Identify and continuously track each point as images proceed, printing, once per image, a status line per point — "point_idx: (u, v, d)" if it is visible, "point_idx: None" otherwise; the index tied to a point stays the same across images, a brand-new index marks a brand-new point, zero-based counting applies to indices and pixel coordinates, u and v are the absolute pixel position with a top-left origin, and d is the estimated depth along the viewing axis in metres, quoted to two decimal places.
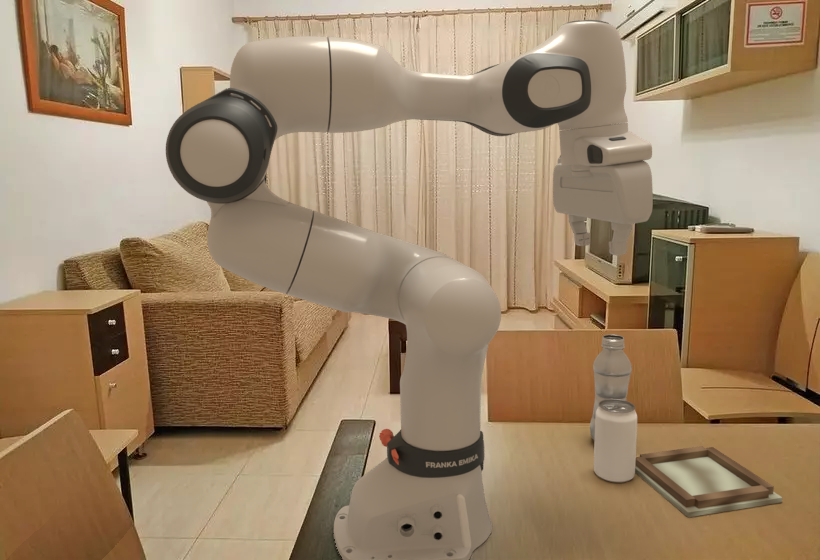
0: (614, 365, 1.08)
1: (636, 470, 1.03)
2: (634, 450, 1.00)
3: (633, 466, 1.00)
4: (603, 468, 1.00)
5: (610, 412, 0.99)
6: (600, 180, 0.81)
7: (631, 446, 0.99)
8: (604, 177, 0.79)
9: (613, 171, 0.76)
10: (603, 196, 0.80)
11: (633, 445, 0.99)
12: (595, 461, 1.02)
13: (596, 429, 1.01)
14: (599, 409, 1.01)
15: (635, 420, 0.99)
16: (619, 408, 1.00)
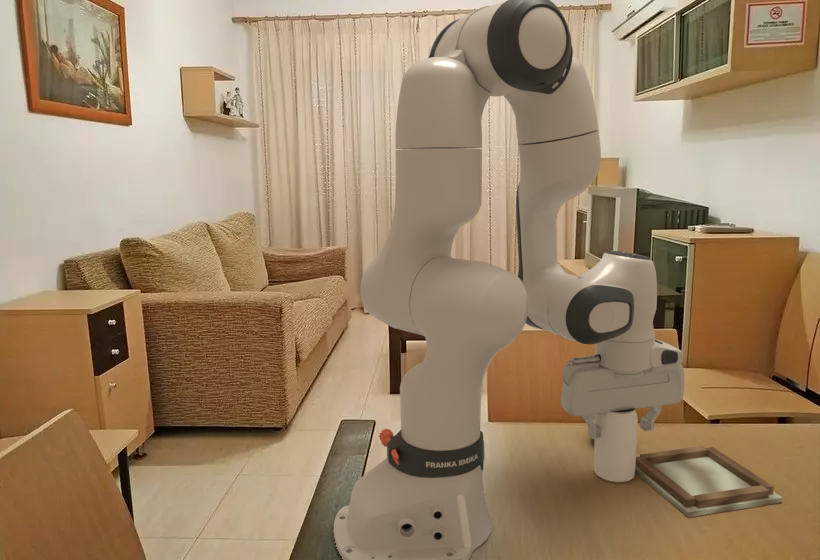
0: None
1: (636, 470, 1.03)
2: (634, 451, 1.00)
3: (633, 466, 1.00)
4: (603, 468, 1.00)
5: (610, 412, 0.99)
6: (650, 375, 0.99)
7: (631, 446, 0.99)
8: (661, 372, 0.99)
9: (681, 366, 0.99)
10: (655, 388, 0.99)
11: (634, 445, 0.99)
12: (595, 461, 1.02)
13: None
14: None
15: (635, 420, 0.99)
16: None
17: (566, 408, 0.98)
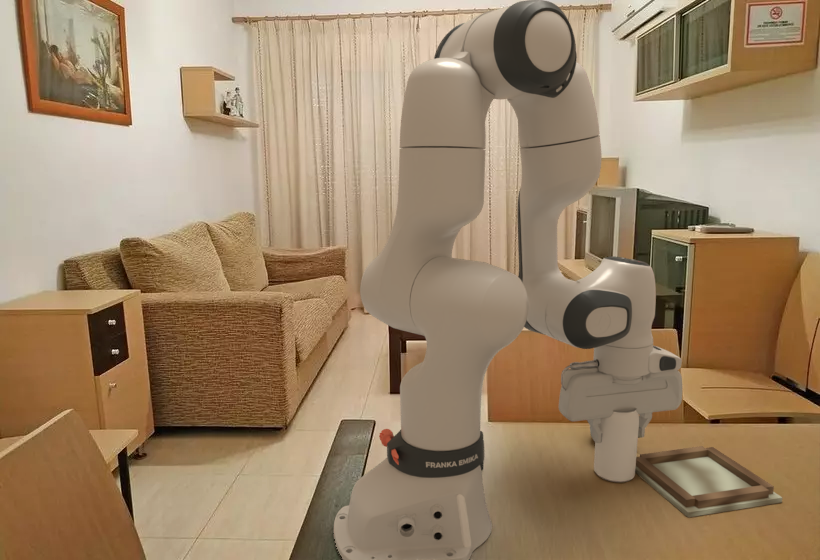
0: None
1: (636, 470, 1.03)
2: (635, 450, 1.00)
3: (633, 466, 1.00)
4: (603, 468, 1.00)
5: None
6: (649, 381, 0.99)
7: (632, 446, 0.99)
8: (659, 378, 0.99)
9: (679, 373, 0.99)
10: (653, 394, 0.99)
11: (634, 445, 0.99)
12: (596, 460, 1.02)
13: None
14: None
15: (637, 420, 0.99)
16: None
17: (564, 413, 0.98)
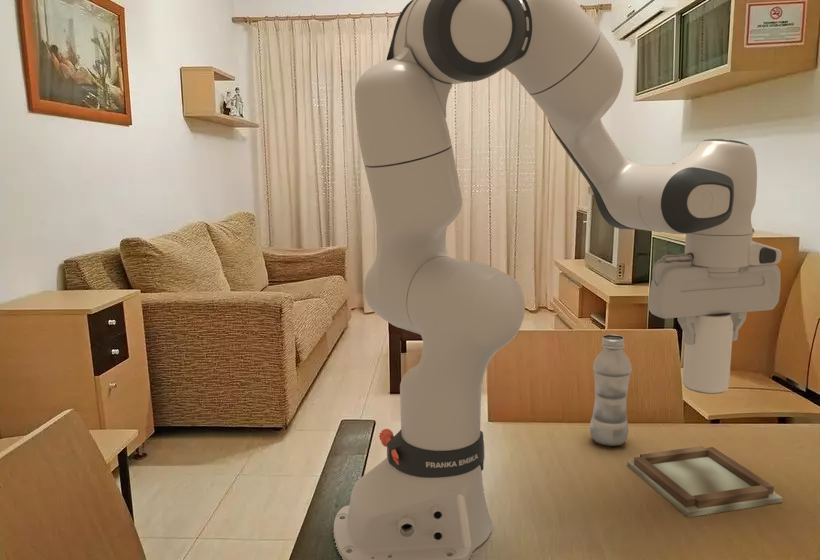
0: (614, 365, 1.08)
1: (636, 470, 1.03)
2: (730, 359, 0.93)
3: (729, 376, 0.94)
4: (698, 379, 0.94)
5: (706, 317, 0.92)
6: (745, 277, 0.92)
7: (728, 353, 0.92)
8: (757, 274, 0.92)
9: (778, 268, 0.92)
10: (750, 291, 0.93)
11: (730, 352, 0.93)
12: (687, 373, 0.95)
13: None
14: None
15: (732, 325, 0.92)
16: None
17: (655, 310, 0.91)
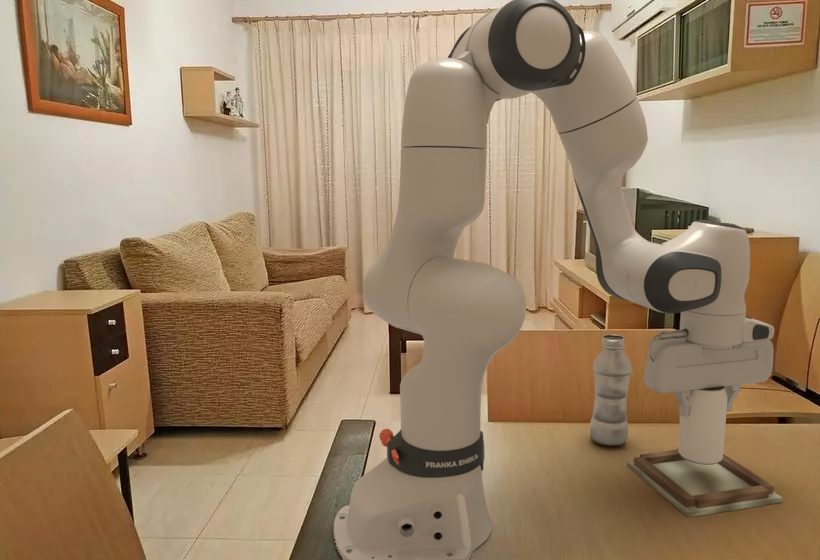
0: (614, 365, 1.08)
1: (636, 470, 1.03)
2: (724, 430, 0.96)
3: (723, 447, 0.96)
4: (693, 450, 0.96)
5: (701, 391, 0.94)
6: (739, 352, 0.95)
7: (722, 426, 0.95)
8: (750, 349, 0.95)
9: (771, 342, 0.94)
10: (744, 365, 0.95)
11: (724, 425, 0.95)
12: (682, 444, 0.97)
13: None
14: None
15: (726, 399, 0.95)
16: None
17: (651, 385, 0.93)
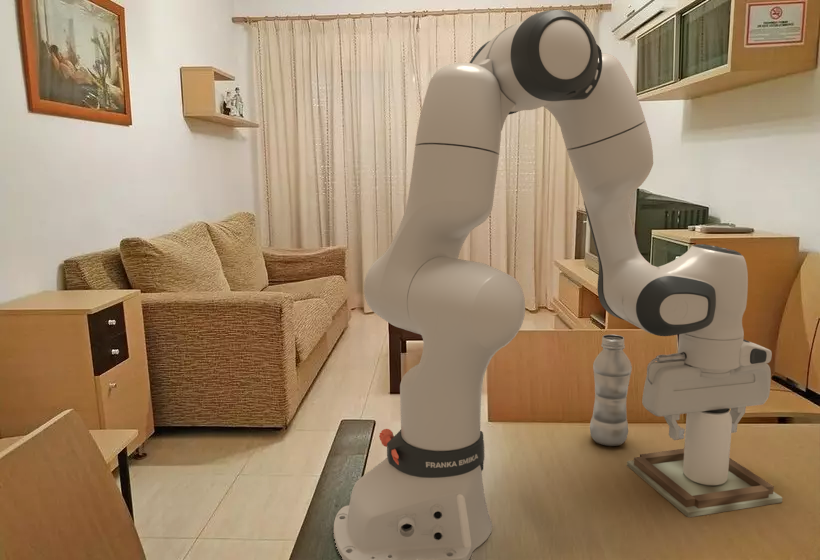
0: (614, 365, 1.08)
1: (636, 470, 1.03)
2: (729, 452, 0.97)
3: (728, 468, 0.97)
4: (698, 472, 0.97)
5: (706, 414, 0.95)
6: (736, 375, 0.95)
7: (727, 448, 0.96)
8: (748, 372, 0.95)
9: (768, 366, 0.95)
10: (741, 388, 0.96)
11: (729, 447, 0.96)
12: (687, 465, 0.98)
13: (689, 432, 0.98)
14: None
15: (731, 421, 0.96)
16: None
17: (649, 408, 0.94)
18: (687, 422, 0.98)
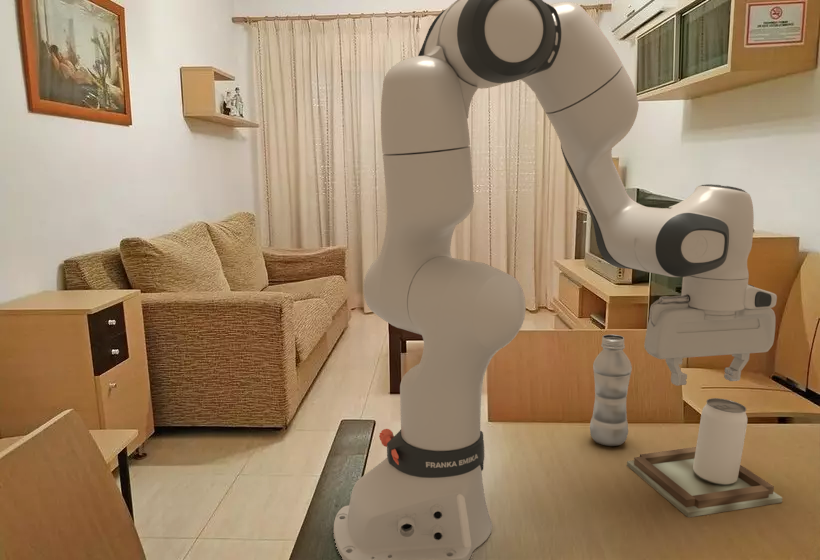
0: (614, 365, 1.08)
1: (636, 470, 1.03)
2: None
3: None
4: (710, 469, 0.97)
5: (723, 412, 0.95)
6: (741, 320, 0.94)
7: (741, 447, 0.96)
8: (752, 317, 0.94)
9: (773, 311, 0.94)
10: (745, 333, 0.94)
11: (742, 446, 0.96)
12: (699, 462, 0.98)
13: (704, 429, 0.97)
14: (709, 408, 0.97)
15: None
16: (729, 408, 0.97)
17: (652, 350, 0.92)
18: (702, 419, 0.98)
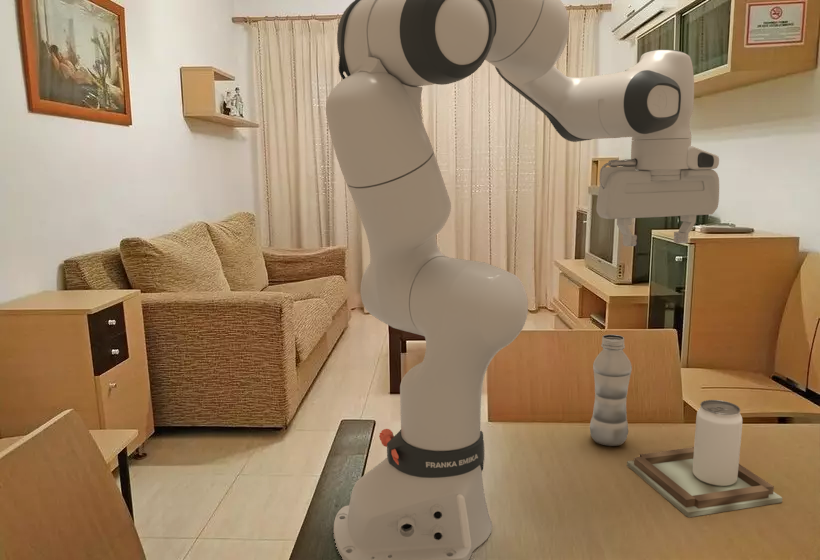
0: (614, 365, 1.08)
1: (636, 470, 1.03)
2: (739, 452, 0.97)
3: (737, 469, 0.97)
4: (708, 472, 0.97)
5: (717, 414, 0.95)
6: (686, 182, 1.00)
7: (737, 448, 0.96)
8: (697, 179, 1.00)
9: (716, 173, 0.99)
10: (691, 195, 1.00)
11: (739, 447, 0.96)
12: (697, 465, 0.98)
13: (699, 432, 0.97)
14: (703, 411, 0.97)
15: (741, 421, 0.96)
16: (723, 409, 0.97)
17: (602, 211, 0.98)
18: (697, 422, 0.98)
